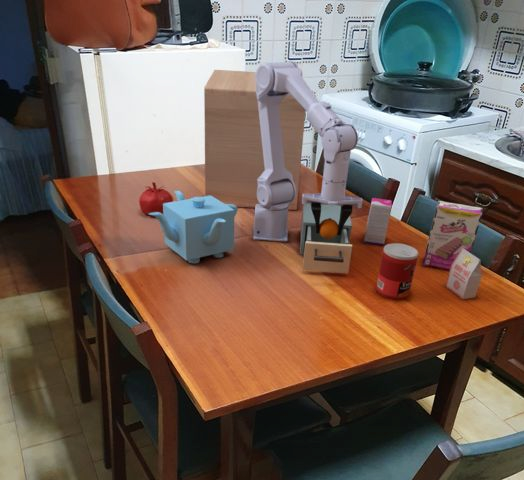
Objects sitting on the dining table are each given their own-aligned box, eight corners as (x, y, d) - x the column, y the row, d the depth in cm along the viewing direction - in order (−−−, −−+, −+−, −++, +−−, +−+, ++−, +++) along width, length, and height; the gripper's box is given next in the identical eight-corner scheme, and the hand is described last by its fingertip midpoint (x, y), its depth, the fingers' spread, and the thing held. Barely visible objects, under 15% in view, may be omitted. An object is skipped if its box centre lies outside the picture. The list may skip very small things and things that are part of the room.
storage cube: (296, 210, 174) (307, 93, 154) (205, 205, 173) (204, 87, 153) (292, 177, 202) (301, 74, 182) (214, 173, 201) (214, 69, 182)
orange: (337, 242, 137) (340, 222, 134) (317, 241, 137) (320, 221, 134) (336, 235, 141) (339, 215, 138) (317, 233, 141) (319, 214, 138)
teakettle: (240, 243, 150) (241, 190, 142) (224, 273, 135) (225, 215, 127) (173, 235, 153) (171, 183, 144) (151, 263, 137) (147, 206, 129)
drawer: (349, 283, 132) (353, 255, 128) (302, 279, 132) (305, 251, 128) (344, 249, 148) (348, 224, 144) (302, 246, 149) (305, 220, 145)
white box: (457, 284, 137) (468, 247, 131) (475, 297, 132) (487, 259, 126) (445, 286, 136) (455, 248, 130) (462, 299, 130) (473, 260, 125)
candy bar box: (421, 266, 144) (436, 205, 135) (423, 258, 148) (437, 199, 139) (465, 274, 142) (483, 213, 132) (465, 266, 146) (483, 206, 136)
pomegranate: (164, 221, 161) (162, 190, 155) (134, 215, 163) (131, 184, 158) (179, 210, 169) (178, 180, 163) (149, 205, 171) (147, 175, 166)
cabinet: (347, 258, 146) (352, 225, 141) (300, 254, 146) (303, 222, 141) (343, 235, 159) (347, 204, 154) (300, 232, 159) (303, 201, 154)
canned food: (402, 303, 127) (412, 260, 121) (370, 293, 130) (378, 250, 124) (413, 291, 132) (423, 249, 126) (382, 281, 136) (390, 240, 130)
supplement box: (384, 245, 154) (392, 206, 148) (363, 243, 155) (370, 203, 149) (384, 238, 159) (392, 199, 152) (364, 235, 160) (370, 197, 153)
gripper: (304, 182, 127) (299, 236, 135) (366, 186, 127) (357, 241, 135) (304, 173, 133) (299, 226, 141) (364, 177, 133) (355, 230, 140)
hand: (327, 232), depth 138 cm, fingers closed on orange, 5 cm apart
